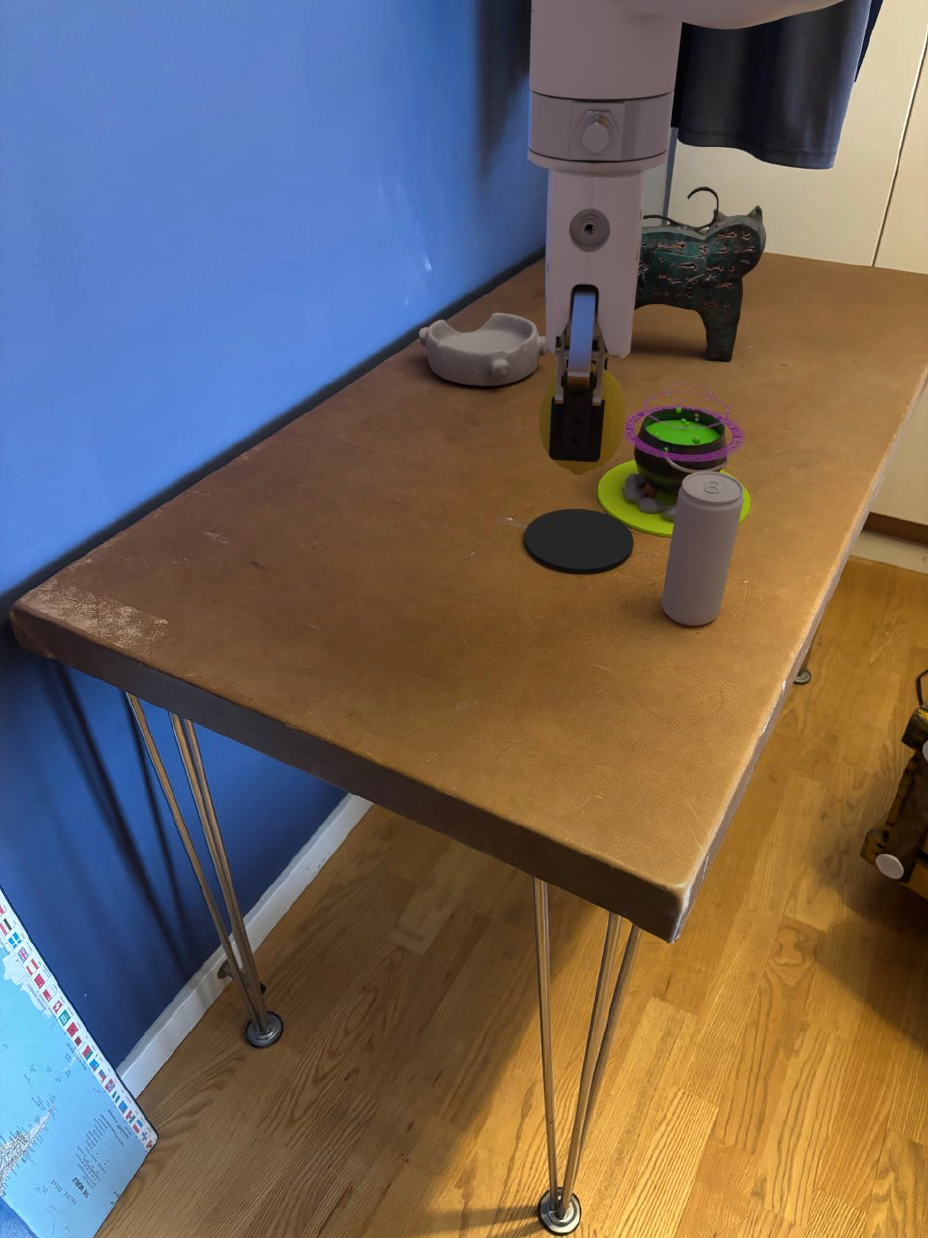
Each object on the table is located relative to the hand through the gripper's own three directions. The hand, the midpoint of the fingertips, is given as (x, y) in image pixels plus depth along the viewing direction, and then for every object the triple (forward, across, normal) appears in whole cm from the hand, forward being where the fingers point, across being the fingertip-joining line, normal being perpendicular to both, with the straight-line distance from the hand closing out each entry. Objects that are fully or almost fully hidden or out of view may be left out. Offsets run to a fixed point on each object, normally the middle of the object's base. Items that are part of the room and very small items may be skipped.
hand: (577, 433), depth 60 cm
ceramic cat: (+19, +62, -10) cm, 66 cm away
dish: (+19, +54, +13) cm, 59 cm away
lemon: (+3, 0, 0) cm, 3 cm away
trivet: (+19, +16, 0) cm, 25 cm away
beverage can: (+20, +7, -10) cm, 23 cm away
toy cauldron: (+19, +26, -9) cm, 34 cm away
